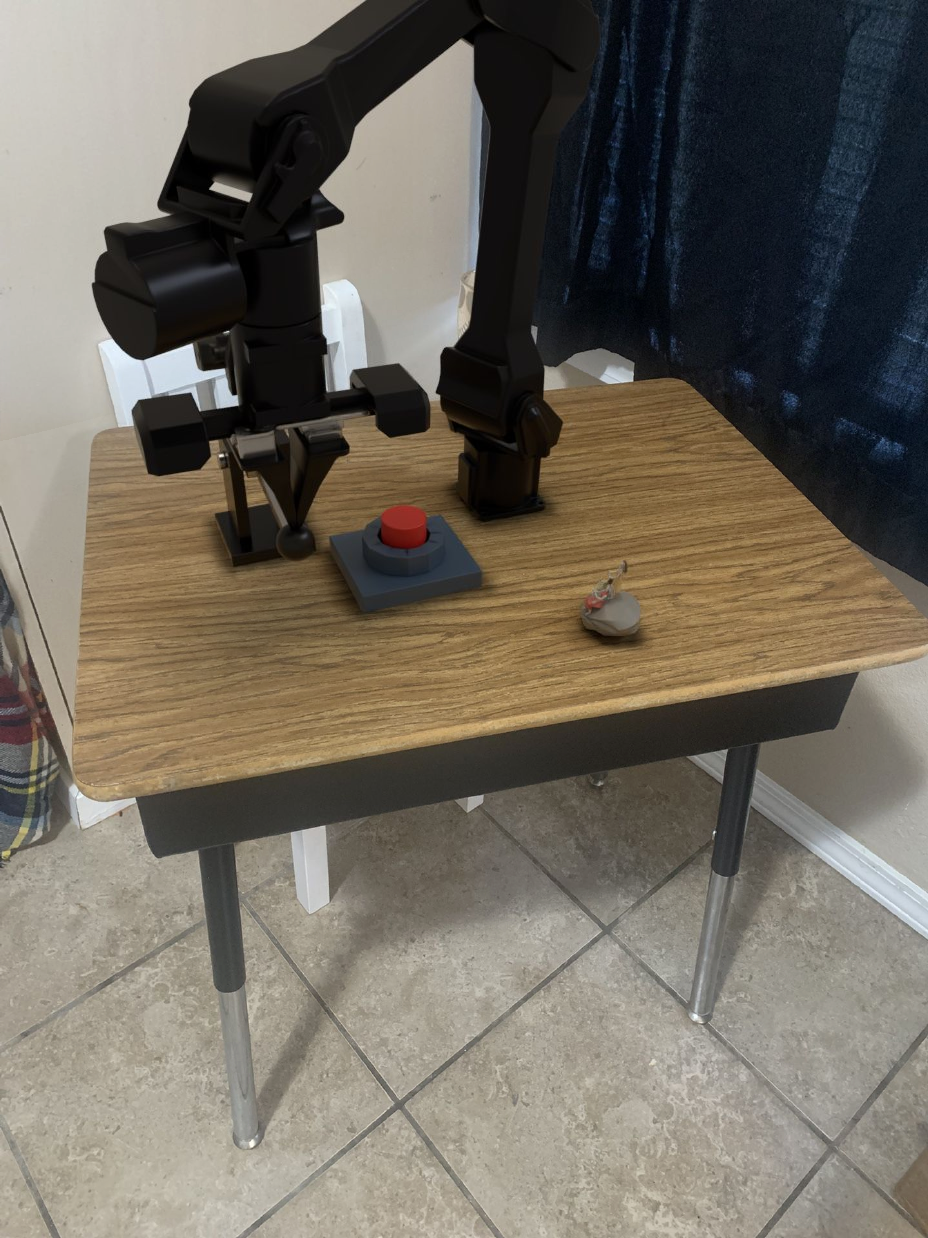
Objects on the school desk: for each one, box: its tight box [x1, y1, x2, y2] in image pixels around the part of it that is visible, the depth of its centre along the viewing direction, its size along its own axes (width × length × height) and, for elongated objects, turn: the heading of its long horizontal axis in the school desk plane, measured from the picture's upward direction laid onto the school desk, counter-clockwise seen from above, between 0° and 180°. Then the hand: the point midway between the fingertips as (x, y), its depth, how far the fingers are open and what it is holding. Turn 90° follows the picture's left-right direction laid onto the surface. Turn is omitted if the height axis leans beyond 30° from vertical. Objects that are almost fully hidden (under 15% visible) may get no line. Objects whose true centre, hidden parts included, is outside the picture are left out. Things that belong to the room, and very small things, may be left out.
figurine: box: [580, 559, 642, 637], centre depth 73 cm, size 5×4×6 cm
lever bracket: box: [214, 429, 317, 568], centre depth 80 cm, size 7×7×10 cm
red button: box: [380, 504, 428, 549], centre depth 78 cm, size 4×4×2 cm
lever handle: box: [244, 471, 316, 562], centre depth 74 cm, size 15×3×3 cm, turn 23°
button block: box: [328, 514, 483, 614], centre depth 79 cm, size 10×9×4 cm
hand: (294, 525), depth 70 cm, fingers closed
